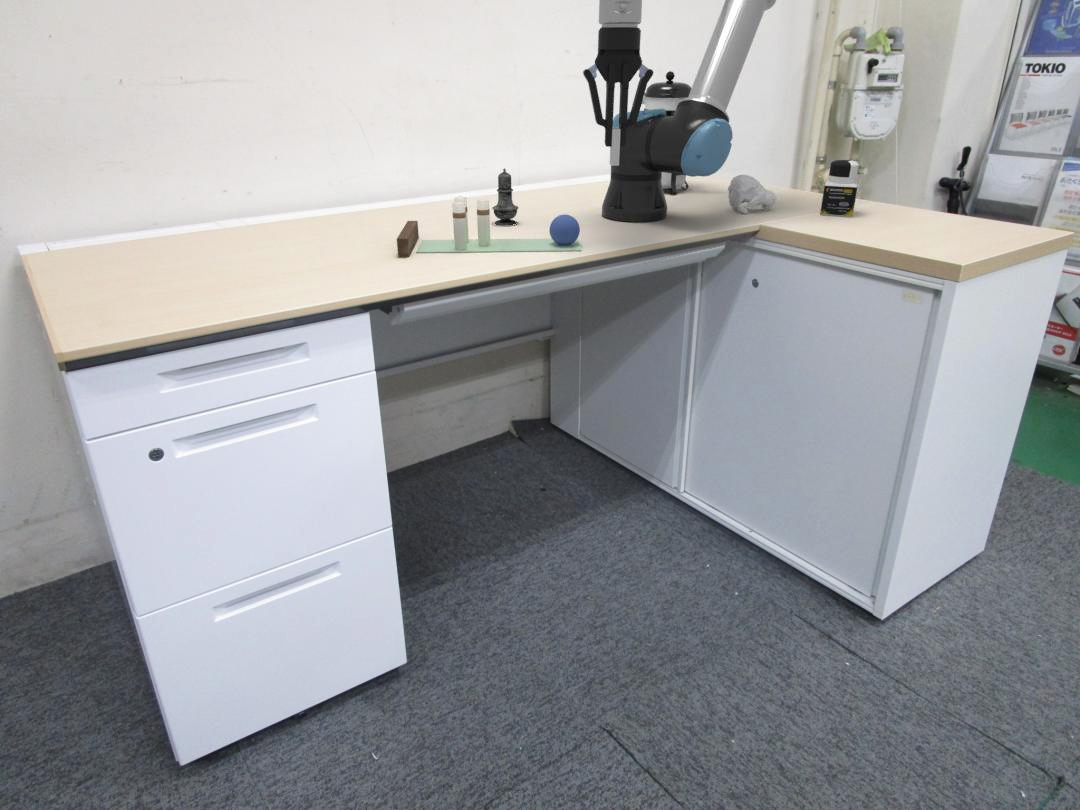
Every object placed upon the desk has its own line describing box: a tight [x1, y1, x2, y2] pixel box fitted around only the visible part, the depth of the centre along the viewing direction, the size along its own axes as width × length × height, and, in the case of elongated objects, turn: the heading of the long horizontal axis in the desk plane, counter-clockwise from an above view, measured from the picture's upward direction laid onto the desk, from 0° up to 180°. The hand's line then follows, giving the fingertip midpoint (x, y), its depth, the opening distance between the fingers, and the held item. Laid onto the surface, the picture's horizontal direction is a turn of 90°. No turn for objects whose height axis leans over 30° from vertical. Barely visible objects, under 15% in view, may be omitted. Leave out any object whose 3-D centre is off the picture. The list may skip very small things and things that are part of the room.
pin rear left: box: [451, 201, 467, 250], centre depth 144 cm, size 2×2×9 cm
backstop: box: [396, 220, 420, 258], centre depth 148 cm, size 2×16×4 cm, turn 2°
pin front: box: [476, 198, 491, 247], centre depth 147 cm, size 2×2×9 cm
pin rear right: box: [454, 196, 470, 243], centre depth 149 cm, size 2×2×9 cm
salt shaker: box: [491, 168, 519, 226], centre depth 165 cm, size 6×6×12 cm
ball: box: [549, 214, 581, 245], centre depth 148 cm, size 6×6×6 cm
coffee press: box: [641, 70, 692, 196], centre depth 199 cm, size 17×16×30 cm
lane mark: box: [415, 237, 582, 254], centre depth 149 cm, size 32×10×1 cm, turn 92°
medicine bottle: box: [819, 159, 860, 218], centre depth 174 cm, size 7×7×12 cm
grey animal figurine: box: [727, 174, 777, 215], centre depth 178 cm, size 6×8×12 cm
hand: (614, 164), depth 143 cm, fingers closed
